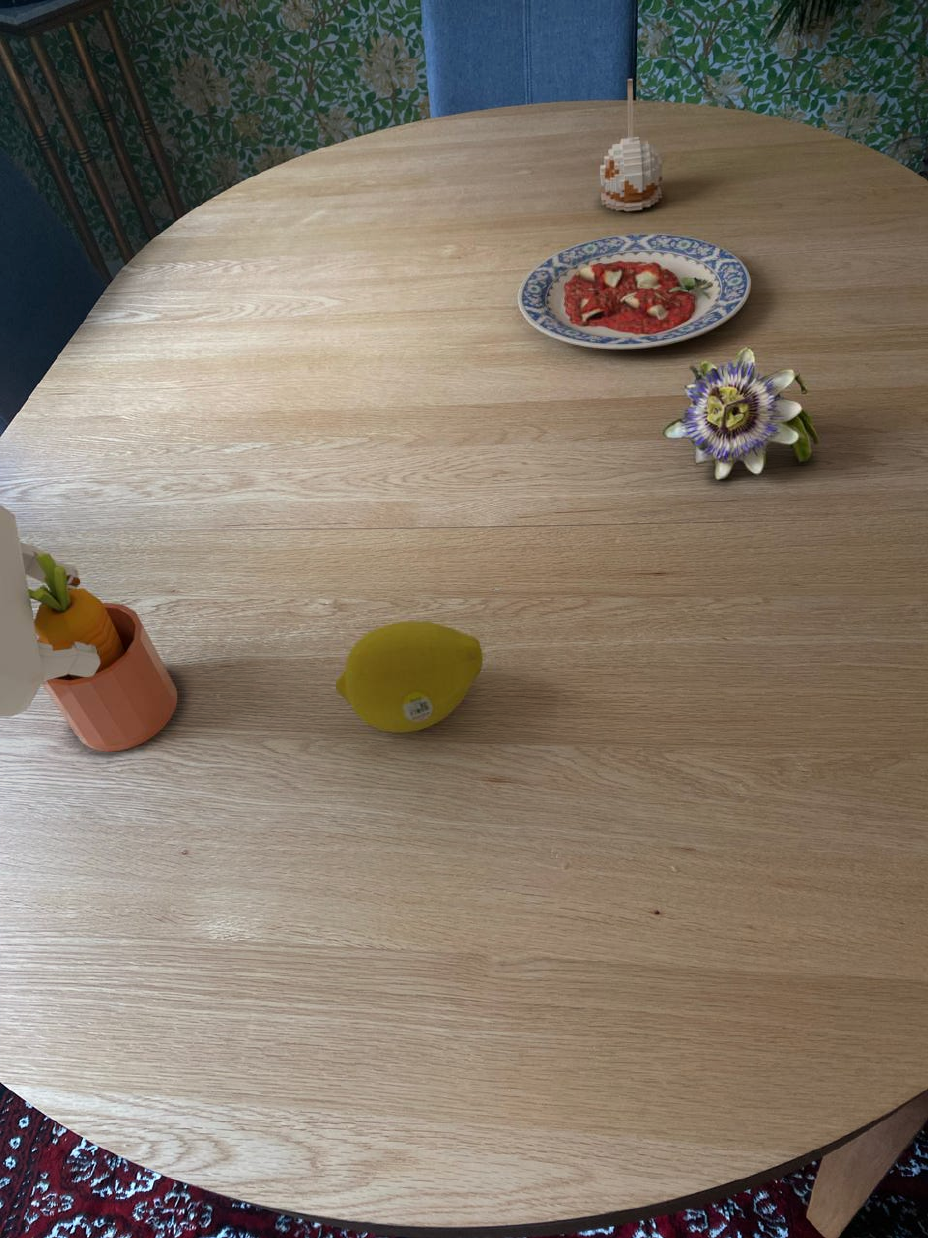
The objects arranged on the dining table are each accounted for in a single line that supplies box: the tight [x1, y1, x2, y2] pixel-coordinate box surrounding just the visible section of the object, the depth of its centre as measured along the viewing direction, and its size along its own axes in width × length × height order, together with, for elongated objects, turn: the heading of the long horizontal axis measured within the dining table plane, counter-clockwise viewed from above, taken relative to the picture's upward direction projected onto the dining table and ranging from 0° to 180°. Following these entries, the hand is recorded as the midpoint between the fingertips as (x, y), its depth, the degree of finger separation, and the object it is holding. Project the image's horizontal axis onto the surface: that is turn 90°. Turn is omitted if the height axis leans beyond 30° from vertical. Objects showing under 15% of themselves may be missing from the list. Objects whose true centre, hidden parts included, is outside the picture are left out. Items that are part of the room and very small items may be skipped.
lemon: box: [335, 620, 484, 734], centre depth 71 cm, size 11×8×8 cm
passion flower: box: [662, 345, 820, 481], centre depth 88 cm, size 11×11×12 cm
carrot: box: [28, 552, 125, 680], centre depth 72 cm, size 5×5×15 cm
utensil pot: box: [37, 602, 178, 753], centre depth 75 cm, size 8×8×8 cm
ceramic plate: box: [517, 233, 752, 350], centre depth 111 cm, size 26×26×3 cm
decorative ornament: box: [599, 78, 663, 212], centre depth 125 cm, size 8×8×15 cm
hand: (86, 620), depth 71 cm, fingers open, 8 cm apart
